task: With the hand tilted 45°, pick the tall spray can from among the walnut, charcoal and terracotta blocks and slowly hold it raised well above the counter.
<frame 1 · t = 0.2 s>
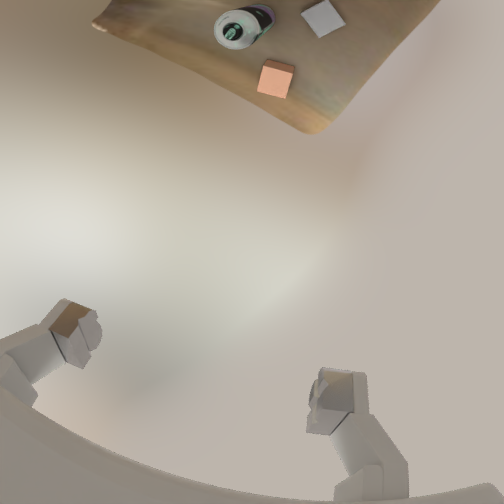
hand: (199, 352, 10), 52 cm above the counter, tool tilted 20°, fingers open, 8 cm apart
terracotta block: (277, 74, 48), on the counter
spray can: (259, 17, 40), on the counter
charcoal block: (322, 16, 37), on the counter
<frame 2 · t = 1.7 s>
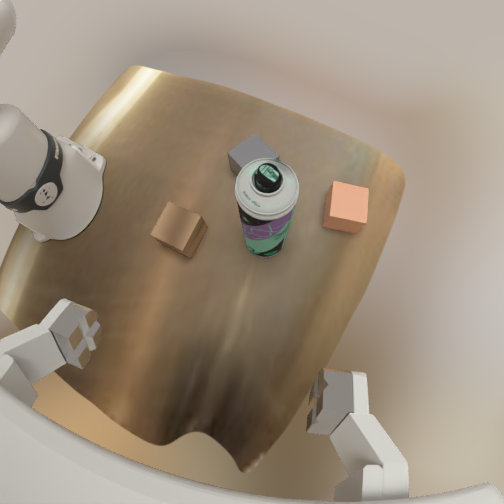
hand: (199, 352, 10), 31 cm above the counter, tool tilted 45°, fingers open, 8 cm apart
terracotta block: (340, 214, 43), on the counter
spray can: (265, 238, 42), on the counter
walnut block: (184, 235, 43), on the counter
charcoal block: (254, 170, 44), on the counter
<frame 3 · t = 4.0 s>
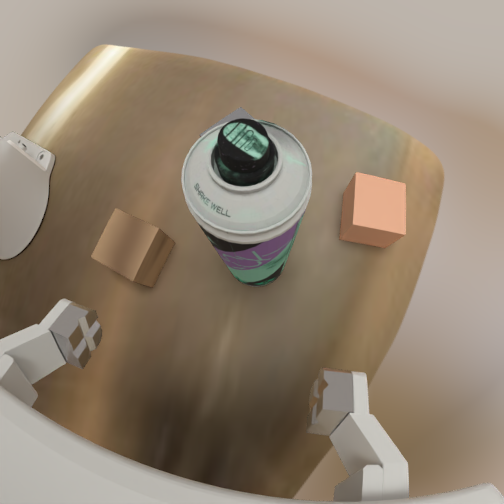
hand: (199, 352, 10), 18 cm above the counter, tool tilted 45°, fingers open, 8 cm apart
terracotta block: (364, 220, 29), on the counter
spray can: (256, 258, 29), on the counter
walnut block: (144, 254, 30), on the counter
charcoal block: (240, 161, 31), on the counter
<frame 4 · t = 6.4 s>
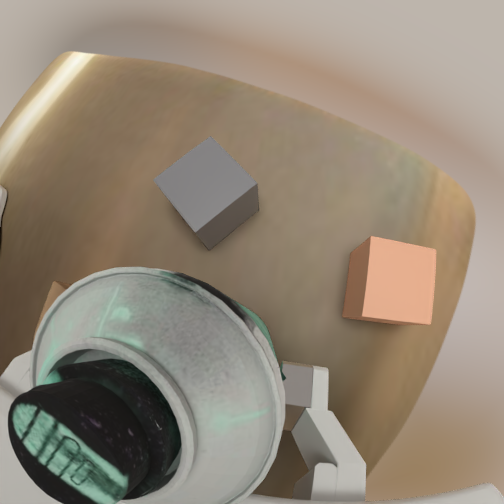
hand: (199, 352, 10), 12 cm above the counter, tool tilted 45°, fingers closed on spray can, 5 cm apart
terracotta block: (376, 289, 22), on the counter
spray can: (233, 342, 22), on the counter, touching gripper
walnut block: (98, 328, 22), on the counter
charcoal block: (214, 207, 24), on the counter
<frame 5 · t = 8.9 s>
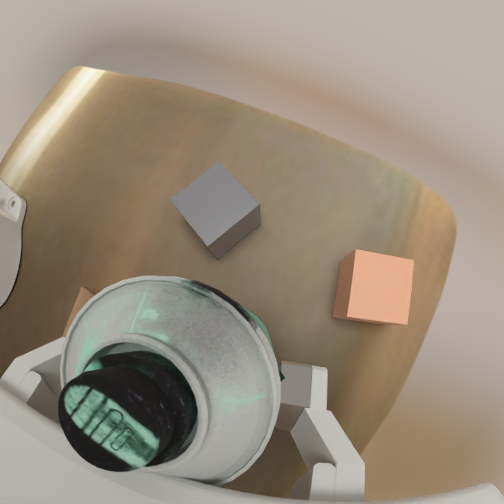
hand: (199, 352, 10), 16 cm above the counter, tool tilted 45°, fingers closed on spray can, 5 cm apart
terracotta block: (362, 293, 26), on the counter
spray can: (234, 342, 23), point 2 cm above the counter, touching gripper
walnut block: (119, 328, 26), on the counter
charcoal block: (222, 221, 28), on the counter
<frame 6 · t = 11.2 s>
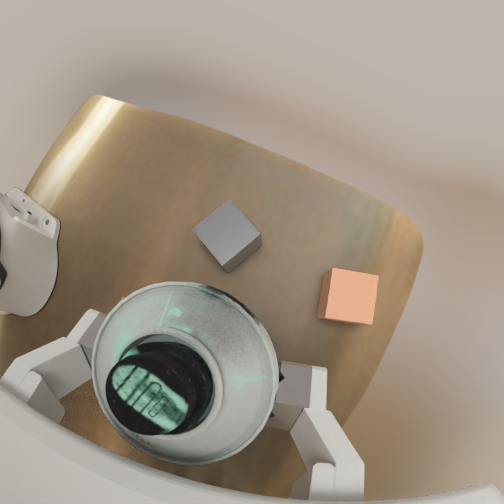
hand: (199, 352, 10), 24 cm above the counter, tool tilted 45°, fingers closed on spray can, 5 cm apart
terracotta block: (340, 299, 34), on the counter
spray can: (234, 345, 24), point 9 cm above the counter, touching gripper
charcoal block: (231, 243, 36), on the counter
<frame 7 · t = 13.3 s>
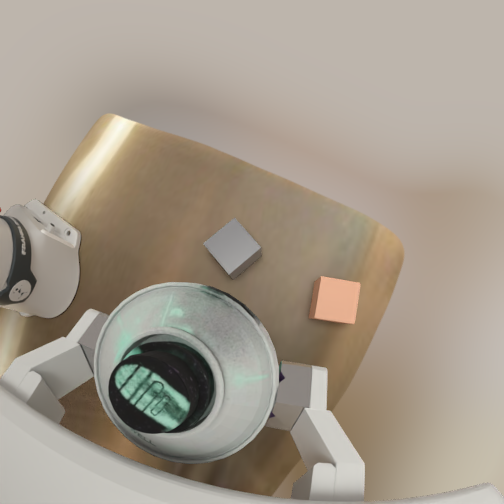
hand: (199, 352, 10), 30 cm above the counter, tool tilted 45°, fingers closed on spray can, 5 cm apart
terracotta block: (329, 302, 40), on the counter
spray can: (235, 345, 25), point 15 cm above the counter, touching gripper
charcoal block: (235, 254, 42), on the counter
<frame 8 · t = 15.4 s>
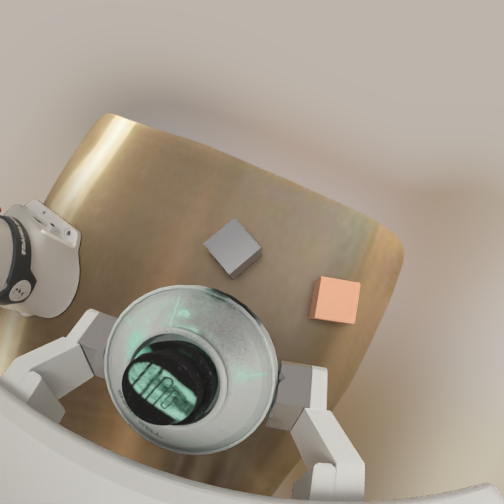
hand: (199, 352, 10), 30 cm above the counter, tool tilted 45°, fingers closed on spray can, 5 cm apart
terracotta block: (329, 302, 40), on the counter
spray can: (236, 342, 25), point 14 cm above the counter, touching gripper
charcoal block: (235, 254, 42), on the counter
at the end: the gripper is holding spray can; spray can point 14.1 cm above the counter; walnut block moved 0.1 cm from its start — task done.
